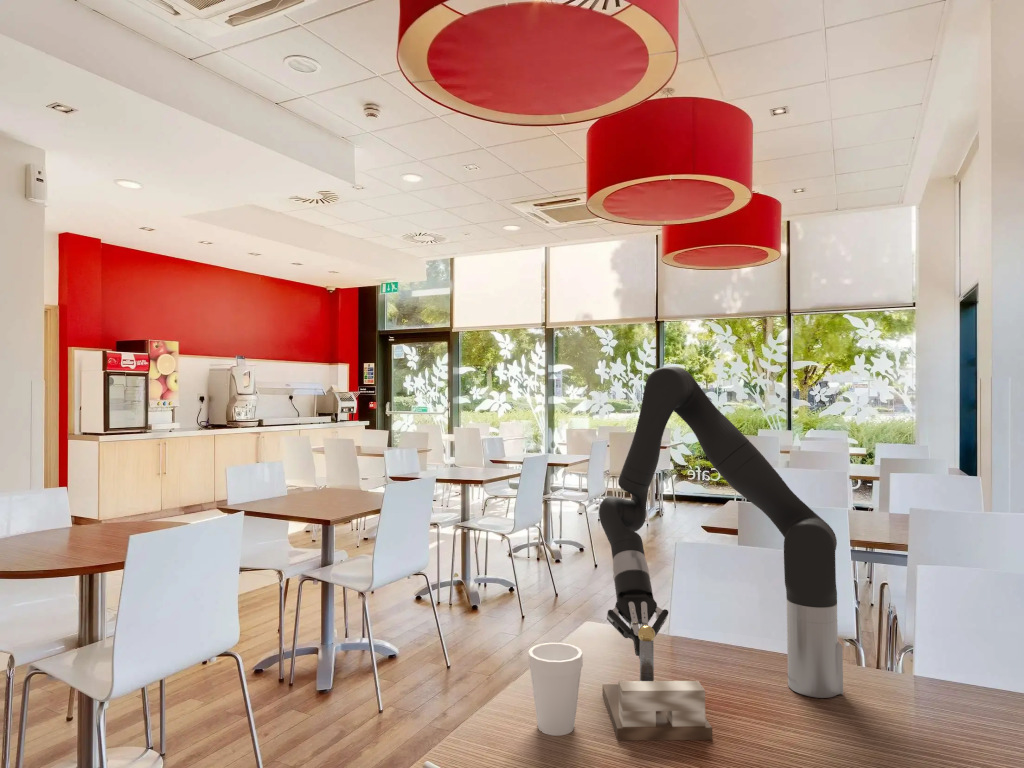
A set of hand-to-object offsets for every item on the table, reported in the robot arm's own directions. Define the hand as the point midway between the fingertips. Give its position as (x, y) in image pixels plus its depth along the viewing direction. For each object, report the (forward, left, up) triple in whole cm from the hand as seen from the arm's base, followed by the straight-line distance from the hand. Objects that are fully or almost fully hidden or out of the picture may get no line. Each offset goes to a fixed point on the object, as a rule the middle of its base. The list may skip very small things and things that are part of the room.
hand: (643, 657), depth 132 cm
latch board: (0, +9, -7) cm, 11 cm away
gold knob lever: (0, +6, -5) cm, 8 cm away
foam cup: (+18, +13, -8) cm, 23 cm away
